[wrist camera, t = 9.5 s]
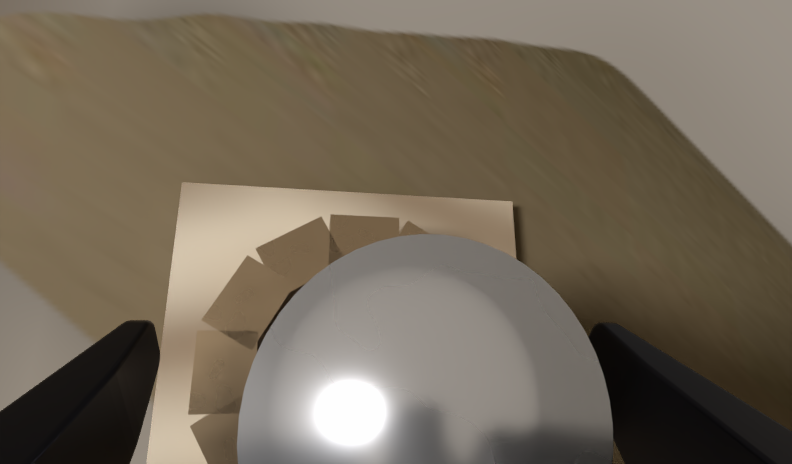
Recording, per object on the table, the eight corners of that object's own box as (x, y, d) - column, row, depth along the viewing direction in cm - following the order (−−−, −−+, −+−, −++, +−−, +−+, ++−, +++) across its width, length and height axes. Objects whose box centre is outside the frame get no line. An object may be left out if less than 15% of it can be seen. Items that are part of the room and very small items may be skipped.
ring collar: (486, 504, 16) (523, 538, 13) (199, 524, 14) (171, 570, 12) (474, 240, 19) (503, 222, 16) (227, 230, 17) (210, 208, 14)
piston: (434, 392, 17) (683, 500, 5) (323, 456, 16) (345, 772, 4) (381, 284, 18) (503, 178, 6) (271, 338, 16) (166, 331, 5)
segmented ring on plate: (527, 547, 17) (537, 557, 16) (139, 583, 14) (129, 597, 14) (504, 206, 20) (512, 201, 20) (187, 189, 18) (182, 182, 17)
